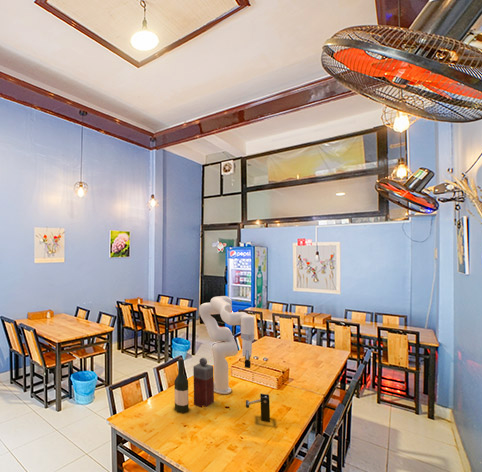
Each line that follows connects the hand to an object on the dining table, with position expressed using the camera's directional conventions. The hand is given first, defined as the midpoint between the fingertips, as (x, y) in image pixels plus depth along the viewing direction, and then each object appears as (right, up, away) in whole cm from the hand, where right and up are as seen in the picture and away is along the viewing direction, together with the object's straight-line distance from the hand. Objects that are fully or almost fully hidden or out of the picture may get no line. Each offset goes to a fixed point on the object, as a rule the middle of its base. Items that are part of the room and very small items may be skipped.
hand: (247, 367), depth 185 cm
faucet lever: (+1, -16, -11) cm, 19 cm away
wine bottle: (-39, -26, 0) cm, 47 cm away
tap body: (+5, -25, -13) cm, 28 cm away
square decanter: (-24, -26, +7) cm, 36 cm away
